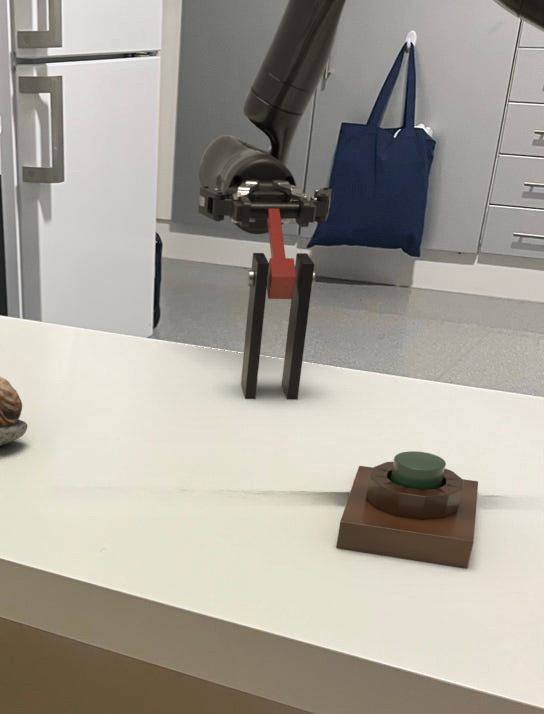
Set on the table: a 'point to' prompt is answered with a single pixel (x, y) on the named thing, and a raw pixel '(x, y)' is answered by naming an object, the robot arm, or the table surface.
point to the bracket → (295, 327)
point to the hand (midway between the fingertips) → (276, 214)
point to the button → (418, 470)
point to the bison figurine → (10, 413)
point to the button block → (410, 518)
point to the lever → (278, 247)
